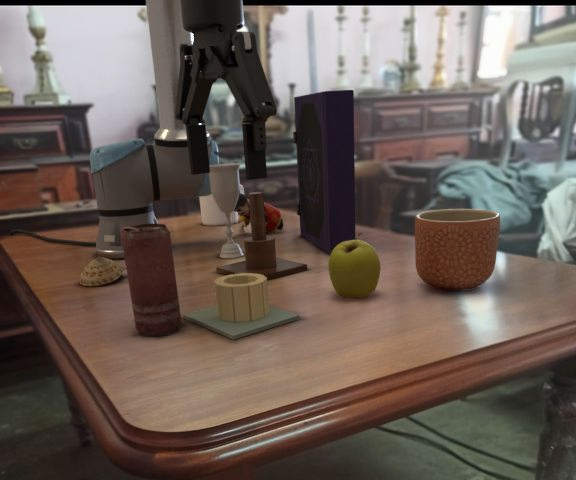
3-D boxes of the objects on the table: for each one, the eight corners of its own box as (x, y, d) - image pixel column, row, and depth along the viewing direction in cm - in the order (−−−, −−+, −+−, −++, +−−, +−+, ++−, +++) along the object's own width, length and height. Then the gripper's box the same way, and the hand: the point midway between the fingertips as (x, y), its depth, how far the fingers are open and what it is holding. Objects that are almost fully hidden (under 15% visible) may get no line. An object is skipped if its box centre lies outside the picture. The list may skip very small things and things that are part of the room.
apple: (356, 277, 96) (366, 220, 90) (384, 302, 90) (396, 243, 84) (314, 285, 93) (321, 227, 87) (340, 312, 87) (349, 252, 81)
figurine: (256, 246, 149) (208, 225, 139) (267, 210, 149) (220, 186, 139) (280, 247, 142) (231, 225, 132) (291, 209, 142) (243, 184, 132)
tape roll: (208, 314, 83) (204, 280, 81) (250, 303, 87) (247, 270, 85) (236, 325, 78) (232, 289, 76) (279, 313, 82) (276, 278, 80)
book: (357, 252, 118) (355, 89, 107) (327, 255, 117) (322, 91, 106) (323, 233, 140) (319, 95, 129) (298, 235, 138) (291, 97, 127)
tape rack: (216, 272, 109) (208, 195, 104) (268, 260, 116) (263, 187, 111) (254, 283, 100) (247, 199, 95) (307, 269, 107) (304, 190, 102)
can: (138, 324, 83) (122, 224, 78) (183, 320, 83) (170, 221, 78) (131, 339, 77) (113, 232, 72) (179, 335, 78) (165, 228, 72)
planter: (450, 301, 85) (454, 225, 81) (397, 283, 95) (398, 215, 91) (513, 286, 90) (519, 214, 86) (456, 271, 100) (459, 206, 96)
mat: (183, 318, 84) (182, 314, 84) (245, 300, 91) (245, 297, 90) (233, 339, 75) (233, 335, 75) (299, 319, 81) (299, 315, 81)
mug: (207, 227, 157) (203, 187, 153) (198, 222, 165) (194, 184, 162) (251, 221, 161) (248, 183, 157) (240, 217, 170) (237, 180, 166)
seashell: (135, 262, 110) (110, 254, 103) (133, 292, 110) (107, 286, 103) (98, 261, 113) (71, 253, 105) (96, 290, 113) (68, 285, 105)
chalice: (242, 259, 118) (234, 165, 111) (210, 259, 119) (200, 167, 113) (251, 251, 125) (244, 162, 118) (221, 251, 126) (212, 164, 119)
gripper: (136, 8, 78) (158, 174, 86) (244, -32, 59) (259, 184, 67) (186, 10, 82) (202, 169, 90) (301, -26, 64) (308, 177, 72)
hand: (226, 176), depth 79 cm, fingers open, 13 cm apart
